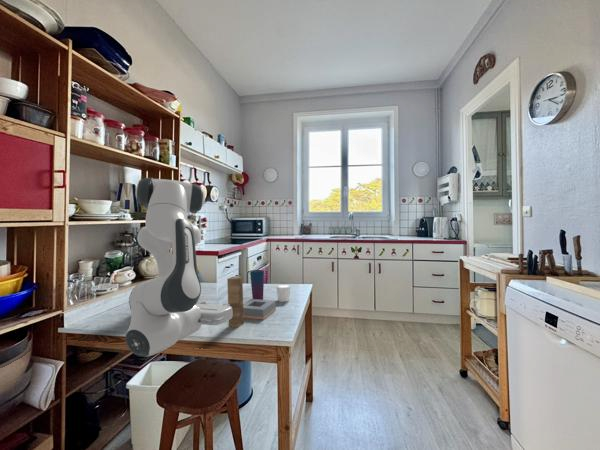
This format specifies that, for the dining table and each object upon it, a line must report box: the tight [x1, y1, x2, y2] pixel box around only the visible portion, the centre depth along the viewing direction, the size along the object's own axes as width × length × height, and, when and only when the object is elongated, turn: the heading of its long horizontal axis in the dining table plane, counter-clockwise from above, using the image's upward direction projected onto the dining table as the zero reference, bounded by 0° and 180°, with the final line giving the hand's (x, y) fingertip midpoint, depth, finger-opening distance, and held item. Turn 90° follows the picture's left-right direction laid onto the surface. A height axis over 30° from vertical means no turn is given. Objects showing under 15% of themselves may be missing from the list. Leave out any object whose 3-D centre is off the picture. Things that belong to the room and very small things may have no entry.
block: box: [226, 276, 245, 328], centre depth 101 cm, size 4×4×18 cm
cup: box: [249, 269, 265, 300], centre depth 130 cm, size 7×7×15 cm
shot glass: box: [275, 284, 291, 303], centre depth 131 cm, size 7×7×7 cm
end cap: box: [243, 298, 277, 320], centre depth 113 cm, size 12×12×4 cm
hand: (215, 304), depth 89 cm, fingers open, 8 cm apart
